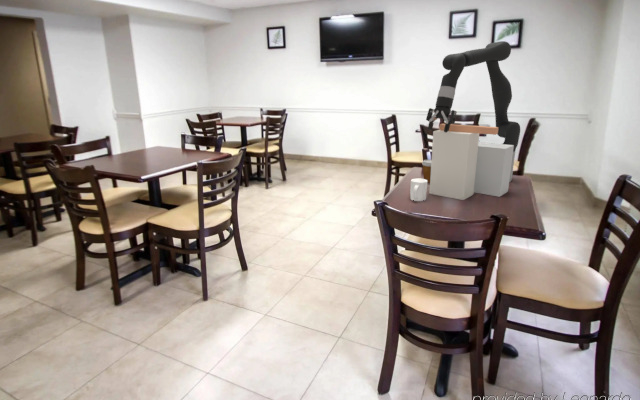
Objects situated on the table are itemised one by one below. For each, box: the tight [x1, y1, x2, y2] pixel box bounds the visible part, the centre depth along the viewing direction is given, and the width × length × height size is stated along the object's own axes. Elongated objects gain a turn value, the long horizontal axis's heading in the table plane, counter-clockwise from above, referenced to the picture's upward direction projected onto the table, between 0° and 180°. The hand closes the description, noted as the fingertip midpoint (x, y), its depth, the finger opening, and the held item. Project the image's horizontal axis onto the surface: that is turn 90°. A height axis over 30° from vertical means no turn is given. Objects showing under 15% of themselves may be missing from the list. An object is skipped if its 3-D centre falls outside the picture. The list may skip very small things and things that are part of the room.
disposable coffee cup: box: [421, 159, 432, 184], centre depth 218 cm, size 10×10×12 cm
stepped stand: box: [429, 129, 514, 201], centre depth 193 cm, size 28×30×32 cm
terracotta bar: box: [439, 123, 498, 136], centre depth 183 cm, size 3×27×3 cm, turn 47°
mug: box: [409, 177, 428, 202], centre depth 188 cm, size 12×9×8 cm
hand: (437, 131), depth 186 cm, fingers open, 8 cm apart
